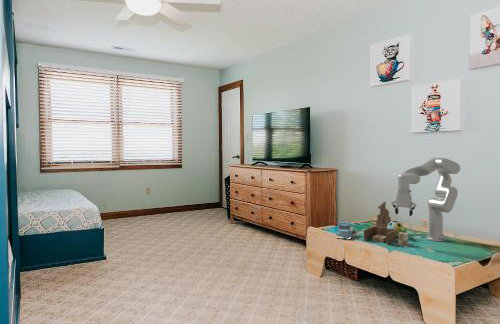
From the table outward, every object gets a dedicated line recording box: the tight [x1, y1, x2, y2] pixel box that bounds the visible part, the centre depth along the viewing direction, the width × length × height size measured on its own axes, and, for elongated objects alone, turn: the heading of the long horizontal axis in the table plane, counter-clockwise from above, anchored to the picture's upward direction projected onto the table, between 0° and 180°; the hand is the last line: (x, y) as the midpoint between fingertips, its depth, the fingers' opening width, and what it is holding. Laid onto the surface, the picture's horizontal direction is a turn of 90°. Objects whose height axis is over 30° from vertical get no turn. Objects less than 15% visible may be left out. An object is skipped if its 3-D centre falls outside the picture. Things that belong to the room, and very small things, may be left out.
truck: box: [335, 217, 354, 238], centre depth 291 cm, size 12×29×15 cm, turn 162°
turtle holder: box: [387, 220, 407, 237], centre depth 282 cm, size 12×18×12 cm
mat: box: [392, 241, 413, 248], centre depth 261 cm, size 10×10×1 cm
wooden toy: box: [375, 201, 393, 228], centre depth 300 cm, size 16×7×25 cm, turn 40°
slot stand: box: [363, 225, 398, 246], centre depth 273 cm, size 18×17×8 cm
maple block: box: [397, 232, 409, 245], centre depth 261 cm, size 5×5×8 cm
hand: (403, 214), depth 260 cm, fingers open, 9 cm apart
